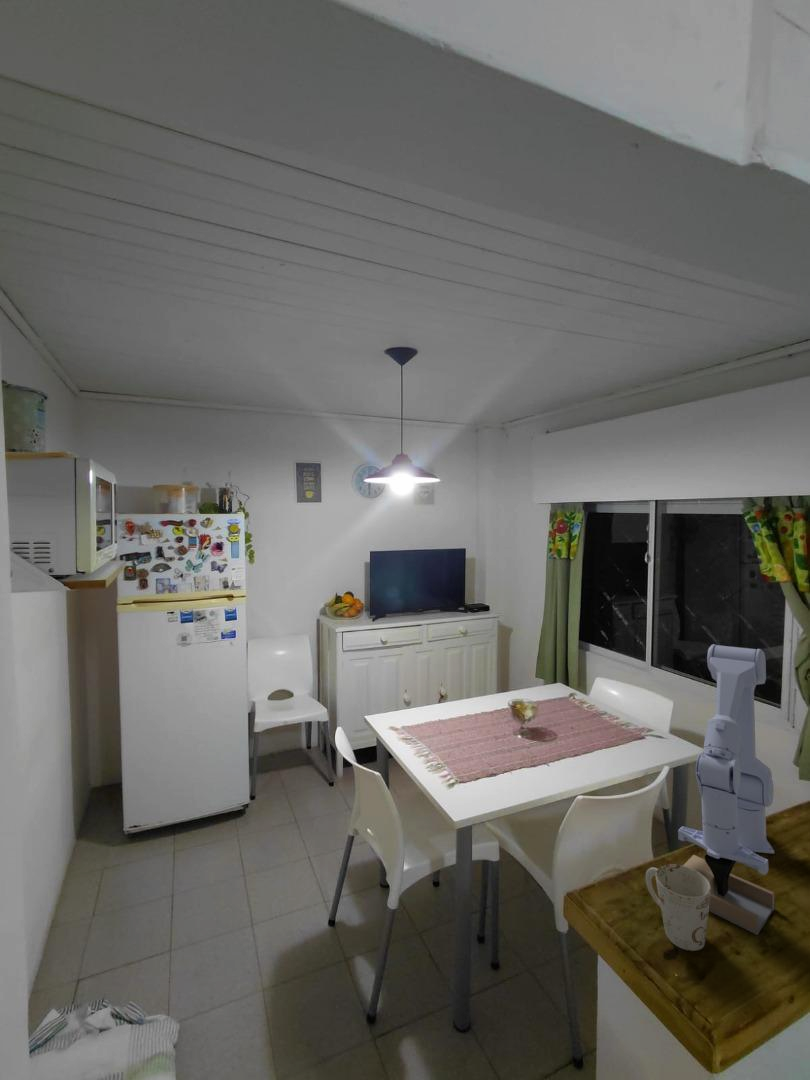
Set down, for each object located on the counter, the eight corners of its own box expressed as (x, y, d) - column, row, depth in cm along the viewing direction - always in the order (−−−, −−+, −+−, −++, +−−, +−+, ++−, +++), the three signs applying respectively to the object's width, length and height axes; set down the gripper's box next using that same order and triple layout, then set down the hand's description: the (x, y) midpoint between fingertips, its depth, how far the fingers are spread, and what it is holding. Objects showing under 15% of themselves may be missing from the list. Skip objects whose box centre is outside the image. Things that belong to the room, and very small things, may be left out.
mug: (688, 964, 83) (686, 903, 83) (628, 912, 95) (626, 858, 95) (724, 946, 87) (722, 887, 86) (661, 897, 98) (659, 846, 98)
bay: (672, 892, 99) (672, 877, 99) (692, 871, 105) (692, 856, 105) (757, 935, 88) (756, 917, 88) (774, 908, 94) (773, 892, 94)
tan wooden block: (681, 888, 100) (680, 867, 100) (694, 874, 103) (693, 854, 103) (710, 902, 96) (710, 881, 95) (723, 887, 99) (722, 867, 99)
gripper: (670, 813, 99) (673, 883, 100) (757, 847, 88) (760, 925, 88) (685, 800, 104) (688, 866, 104) (771, 830, 93) (773, 904, 93)
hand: (722, 892), depth 97 cm, fingers closed
